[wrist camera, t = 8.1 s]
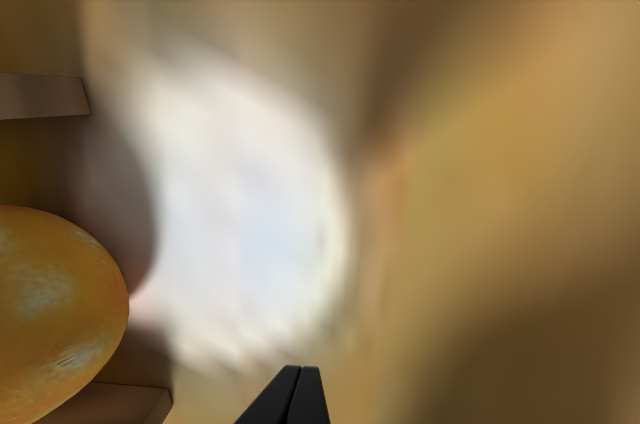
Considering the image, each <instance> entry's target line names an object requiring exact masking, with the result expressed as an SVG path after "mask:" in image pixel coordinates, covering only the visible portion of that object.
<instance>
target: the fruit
mask: <svg viewBox="0 0 640 424" xmlns="http://www.w3.org/2000/svg"><path fill="white" fill-rule="evenodd" d="M128 317H129V298H128V293H127V288H126V284H125V281H124V278H123V275H122V273H121V271H120V269H119V266H118V265H117V263H116V262H115V260H114V259H113V257H112V256H111V255H110V254H109V252H108V251H107V250H106V249H105V248H104V247H103V246H102V245H101V244H100V243H99V242H98V241H97V240H96V239H95V238H94V237H93V236H92V235H90V234H89V233H88V232H87V231H85V230H84V229H82V228H80V227H79V226H77V225H75V224H73V223H72V222H70V221H68V220H66V219H64V218H61V217H59V216H57V215H54V214H51V213H48V212H45V211H41V210H37V209H33V208H29V207H23V206H15V205H4V204H0V424H32V423H33V422H35V421H37V420H38V419H40V418H42V417H43V416H45V415H46V414H48V413H49V412H51V411H52V410H54V409H56V408H57V407H58V406H60V405H61V404H63V403H64V402H65V401H66V400H68V399H69V398H71V397H72V396H73V395H75V394H76V393H77V392H79V391H80V390H81V389H82V388H83V387H84V386H86V385H87V384H88V383H89V382H90V381H91V380H92V379H93V378H94V377H95V376H96V375H97V373H98V372H99V371H100V370H101V369H102V368H103V366H104V365H105V364H106V363H107V362H108V360H109V359H110V358H111V356H112V355H113V353H114V352H115V350H116V349H117V347H118V346H119V344H120V341H121V339H122V337H123V334H124V332H125V329H126V327H127V322H128Z"/></svg>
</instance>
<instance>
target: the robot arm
mask: <svg viewBox="0 0 640 424" xmlns="http://www.w3.org/2000/svg"><path fill="white" fill-rule="evenodd" d="M234 424H331V423H330V419H329V414H328V409H327V404H326V400H325V395H324V390H323V385H322V381H321V376H320V371H319V368H318V367H316V366H303V367H301V366H300V365H285V366H284V367H283V368H282V369H281V370H280V372H279V373H278V374H277V375H276V376H275V377H274V378H273V379H272V381H271V382H270V383H269V384H268V385H267V386H266V387H265V389H264V390H263V391H262V392H261V393H260V394H259V395H258V396H257V398H256V399H255V400H254V401H253V402H252V403H251V404H250V406H249V407H248V408H247V409H246V410H245V411H244V412H243V413H242V415H241V416H240V417H239V418H238V419H237V420H236V421H235V423H234Z"/></svg>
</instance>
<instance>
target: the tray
mask: <svg viewBox="0 0 640 424" xmlns="http://www.w3.org/2000/svg"><path fill="white" fill-rule="evenodd" d="M83 114H91V113H90V110H89V106H88V102H87V99H86V95H85V92H84V88H83V85H82V81H81V78H76V77H61V76H46V75H31V74H15V73H0V120H4V119H19V118H35V117H51V116H67V115H83ZM172 407H173V406H172V403H171V399H170V396H169V392H168V389H164V388H152V387H141V386H129V385H118V384H106V383H94V382H89V383H88V384H87V385H86V386H84V387H83V388H82V389H81V390H80V391H79V392H77V393H76V394H75V395H73V396H72V397H71V398H69V399H68V400H66V401H65V402H64V403H63V404H61V405H60V406H58V407H57V408H56V409H54V410H52V411H51V412H49V413H48V414H46V415H45V416H43V417H42V418H40V419H38V420H37V421H35V422H33V423H32V424H162V423H163V421H164V420H165V418H166V416H167V415H168V413H169V412H170V410H171V409H172Z"/></svg>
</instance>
